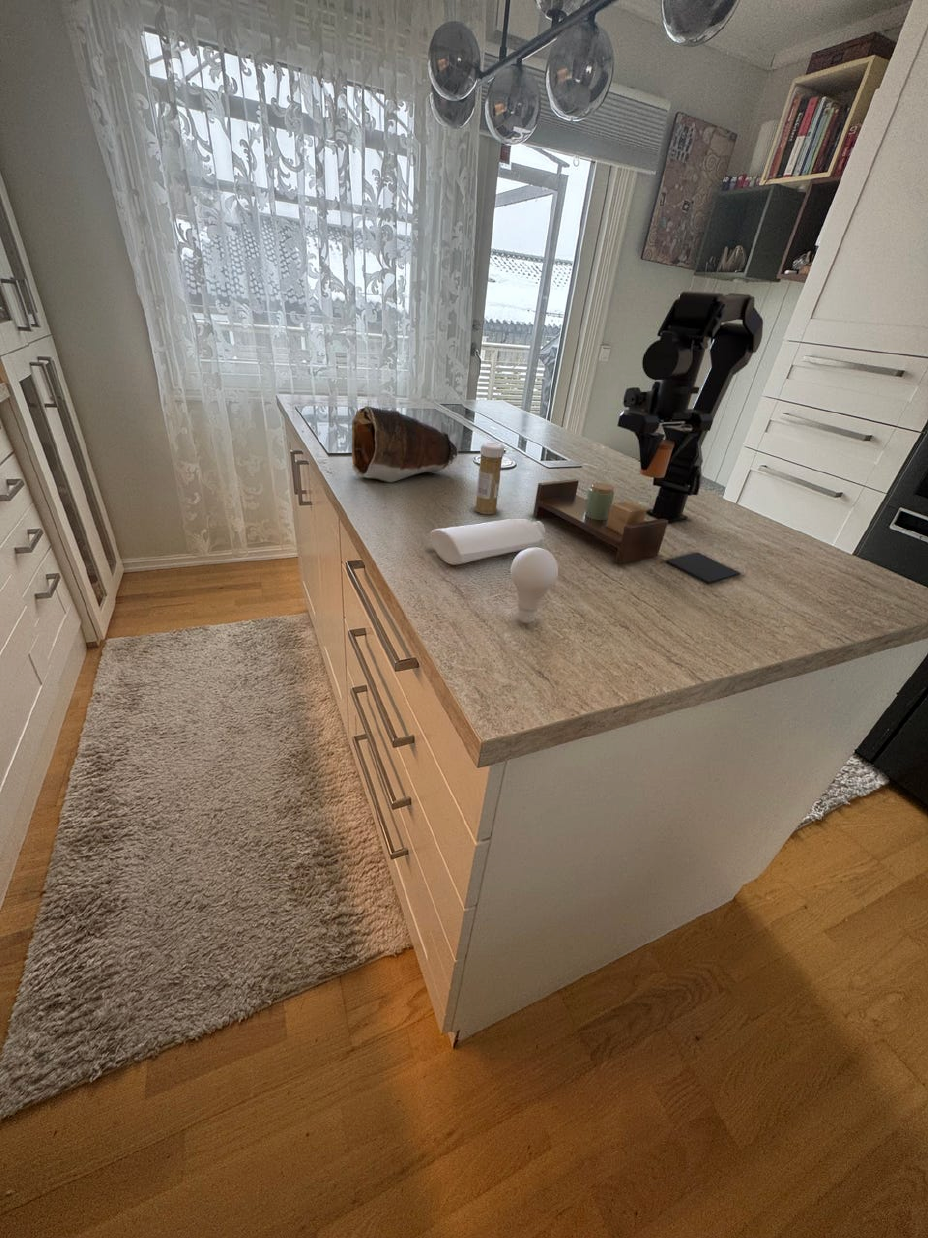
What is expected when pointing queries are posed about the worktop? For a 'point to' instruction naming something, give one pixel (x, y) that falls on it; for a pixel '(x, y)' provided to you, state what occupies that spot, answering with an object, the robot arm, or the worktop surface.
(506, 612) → the worktop surface
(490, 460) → the sprinkles bottle
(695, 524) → the worktop surface
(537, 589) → the lightbulb
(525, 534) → the squeeze bottle
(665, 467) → the copper tin
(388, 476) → the clay pot
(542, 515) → the walnut shelf
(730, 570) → the black rubber mat
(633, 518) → the oak block
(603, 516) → the sage jar
